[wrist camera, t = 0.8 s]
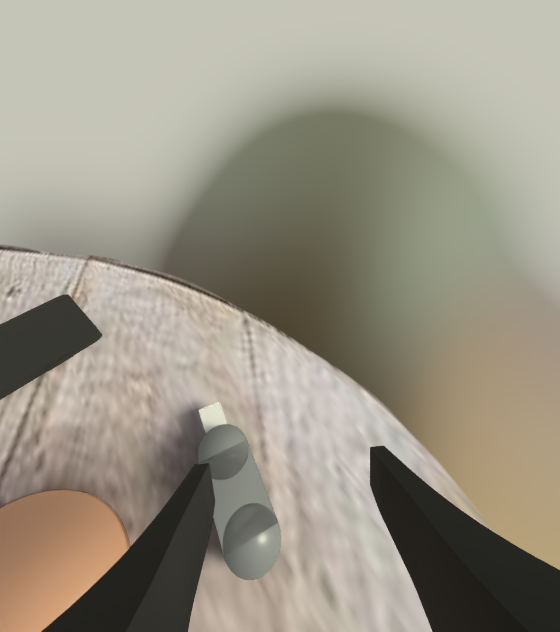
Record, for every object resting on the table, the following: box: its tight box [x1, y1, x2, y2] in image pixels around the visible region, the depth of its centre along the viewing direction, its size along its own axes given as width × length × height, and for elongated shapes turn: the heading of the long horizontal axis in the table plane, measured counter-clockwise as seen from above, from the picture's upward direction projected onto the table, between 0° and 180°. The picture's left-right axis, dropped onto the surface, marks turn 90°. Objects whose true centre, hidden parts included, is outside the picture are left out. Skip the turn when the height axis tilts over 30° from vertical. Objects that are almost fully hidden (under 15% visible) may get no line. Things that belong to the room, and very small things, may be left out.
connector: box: [197, 402, 281, 580], centre depth 22 cm, size 12×4×5 cm, turn 26°
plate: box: [0, 490, 130, 632], centre depth 17 cm, size 14×14×1 cm
